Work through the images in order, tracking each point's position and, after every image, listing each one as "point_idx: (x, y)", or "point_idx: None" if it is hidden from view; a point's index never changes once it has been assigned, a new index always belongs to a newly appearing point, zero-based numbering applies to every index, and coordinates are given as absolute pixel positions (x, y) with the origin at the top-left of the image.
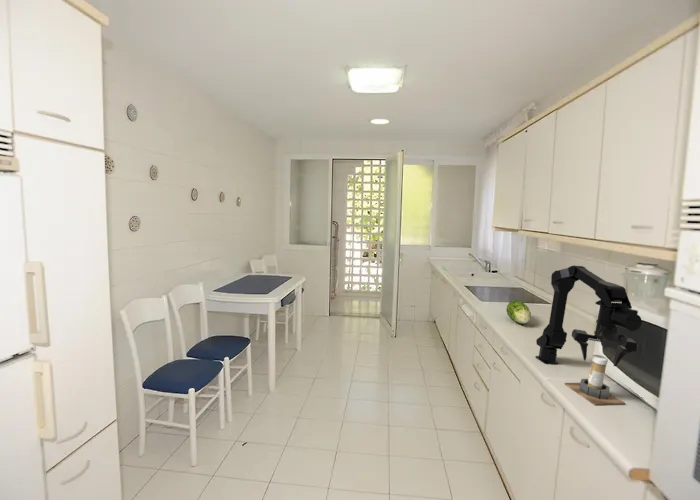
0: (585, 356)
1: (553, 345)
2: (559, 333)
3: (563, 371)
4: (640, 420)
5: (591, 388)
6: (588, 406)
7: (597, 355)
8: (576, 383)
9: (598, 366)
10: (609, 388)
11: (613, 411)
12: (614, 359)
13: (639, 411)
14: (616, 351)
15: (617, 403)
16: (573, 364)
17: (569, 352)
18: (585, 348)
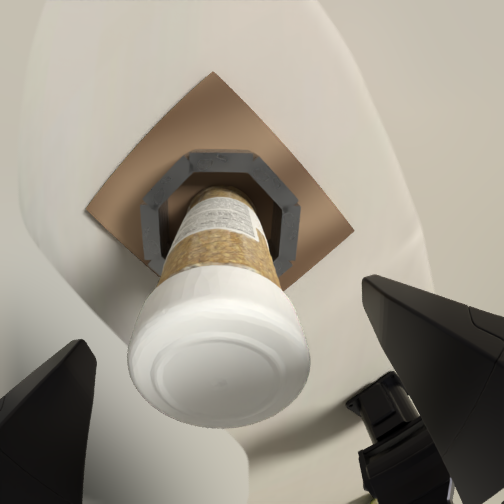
0: (398, 293)
1: (406, 439)
2: (420, 490)
3: (337, 361)
4: (42, 91)
5: (240, 152)
6: (243, 39)
7: (252, 407)
8: (300, 267)
9: (220, 255)
10: (143, 239)
11: (132, 77)
12: (85, 410)
13: (43, 184)
14: (68, 493)
15: (112, 174)
16: (292, 430)
17: (295, 474)
18: (501, 343)
